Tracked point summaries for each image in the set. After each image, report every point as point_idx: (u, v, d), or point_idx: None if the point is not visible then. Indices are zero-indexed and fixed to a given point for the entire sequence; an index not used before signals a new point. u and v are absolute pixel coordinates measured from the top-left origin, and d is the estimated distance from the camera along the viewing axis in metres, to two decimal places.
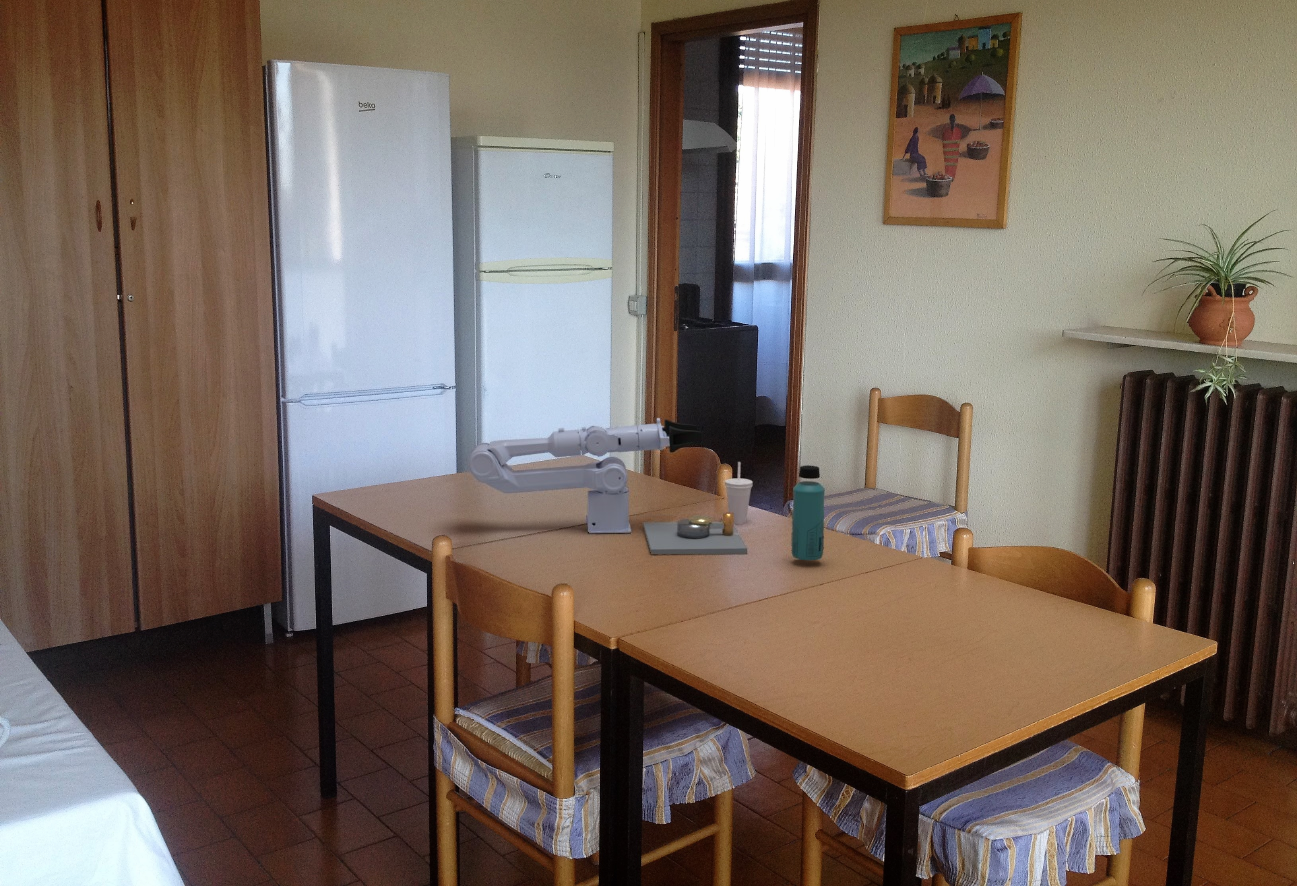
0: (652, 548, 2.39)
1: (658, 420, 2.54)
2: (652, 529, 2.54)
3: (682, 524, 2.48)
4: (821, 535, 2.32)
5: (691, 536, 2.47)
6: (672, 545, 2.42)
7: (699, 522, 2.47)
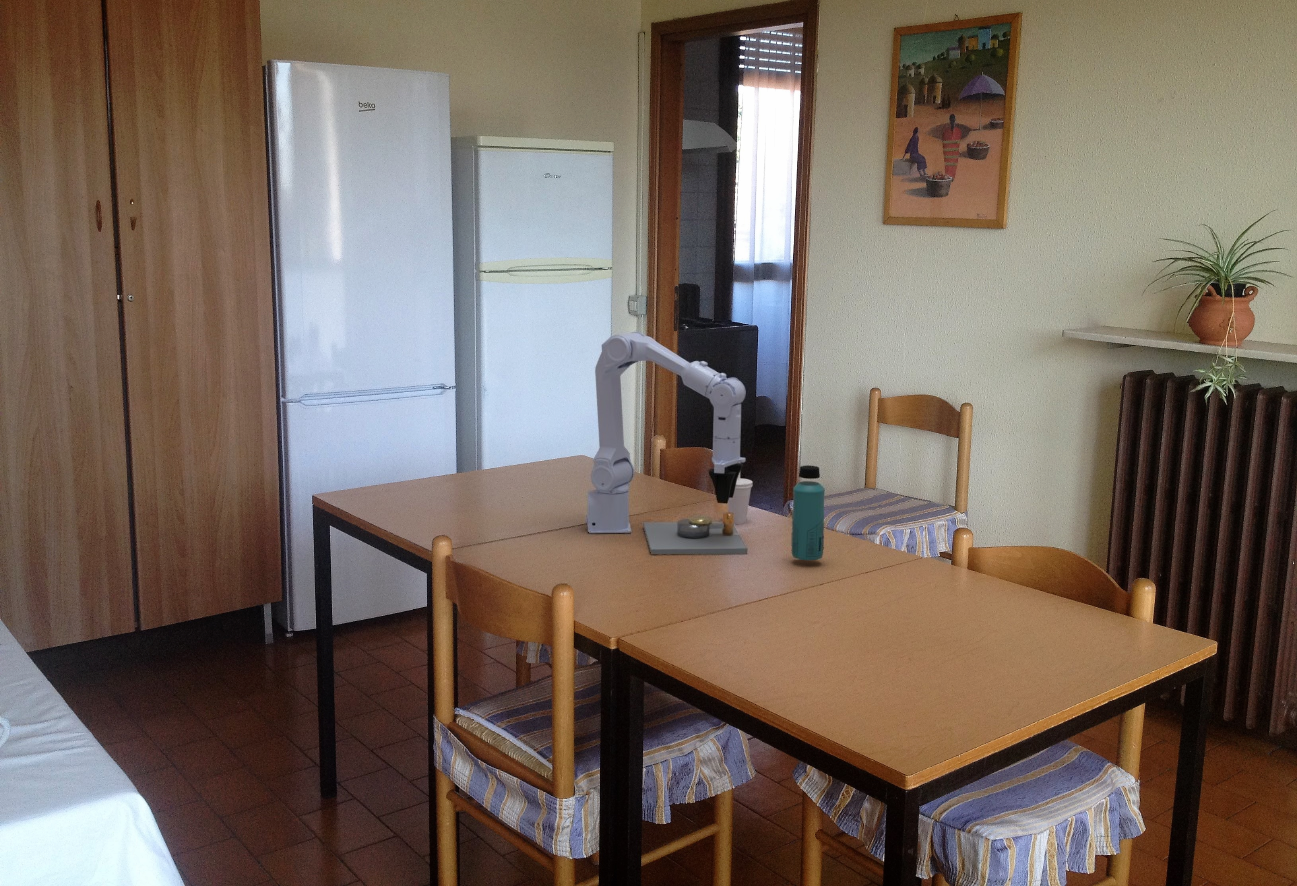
0: (652, 548, 2.39)
1: (742, 460, 2.41)
2: (652, 529, 2.54)
3: (682, 524, 2.48)
4: (821, 535, 2.32)
5: (691, 536, 2.47)
6: (672, 545, 2.42)
7: (699, 522, 2.47)
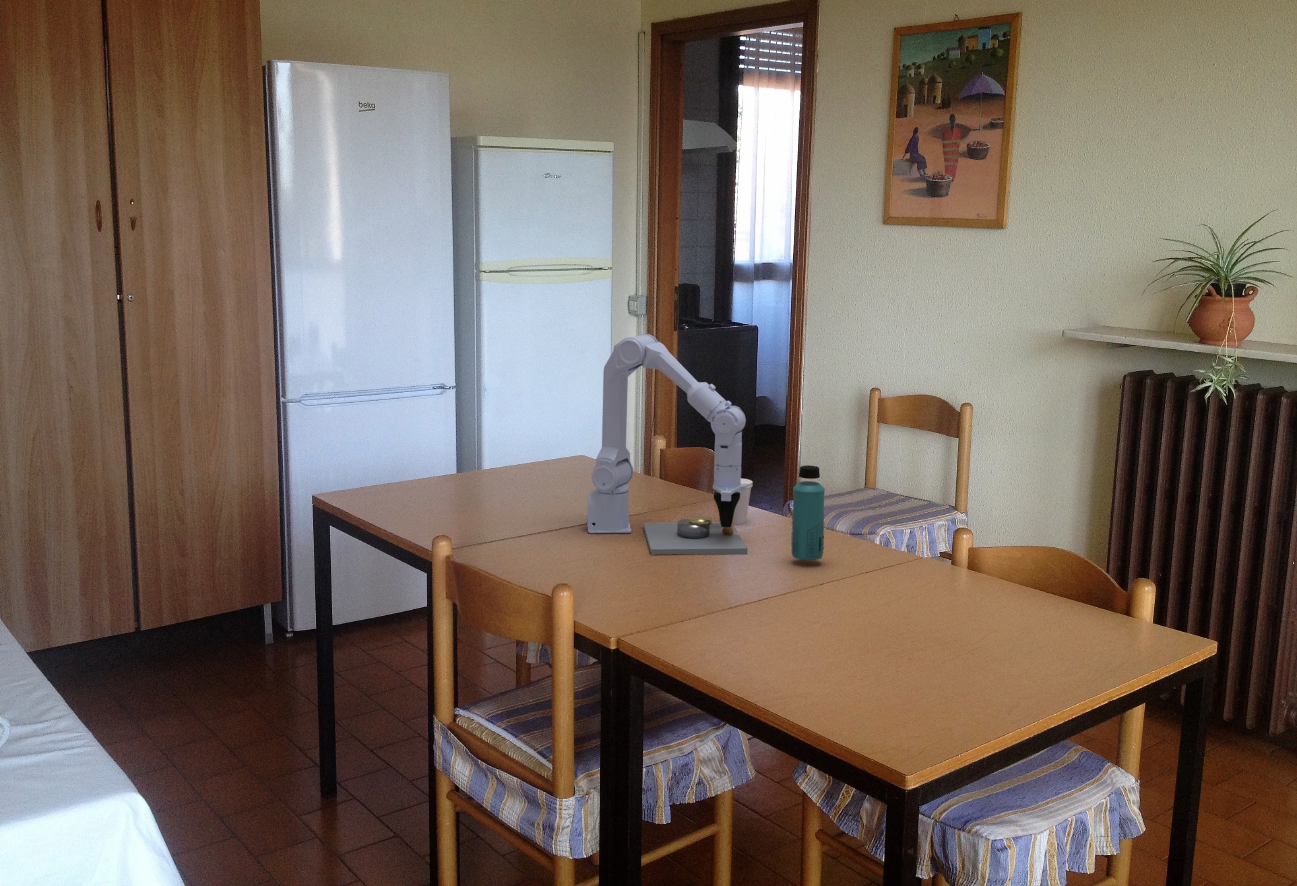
0: (652, 548, 2.39)
1: (744, 487, 2.45)
2: (652, 529, 2.54)
3: (682, 524, 2.48)
4: (821, 535, 2.32)
5: (691, 536, 2.47)
6: (672, 545, 2.42)
7: (699, 522, 2.47)
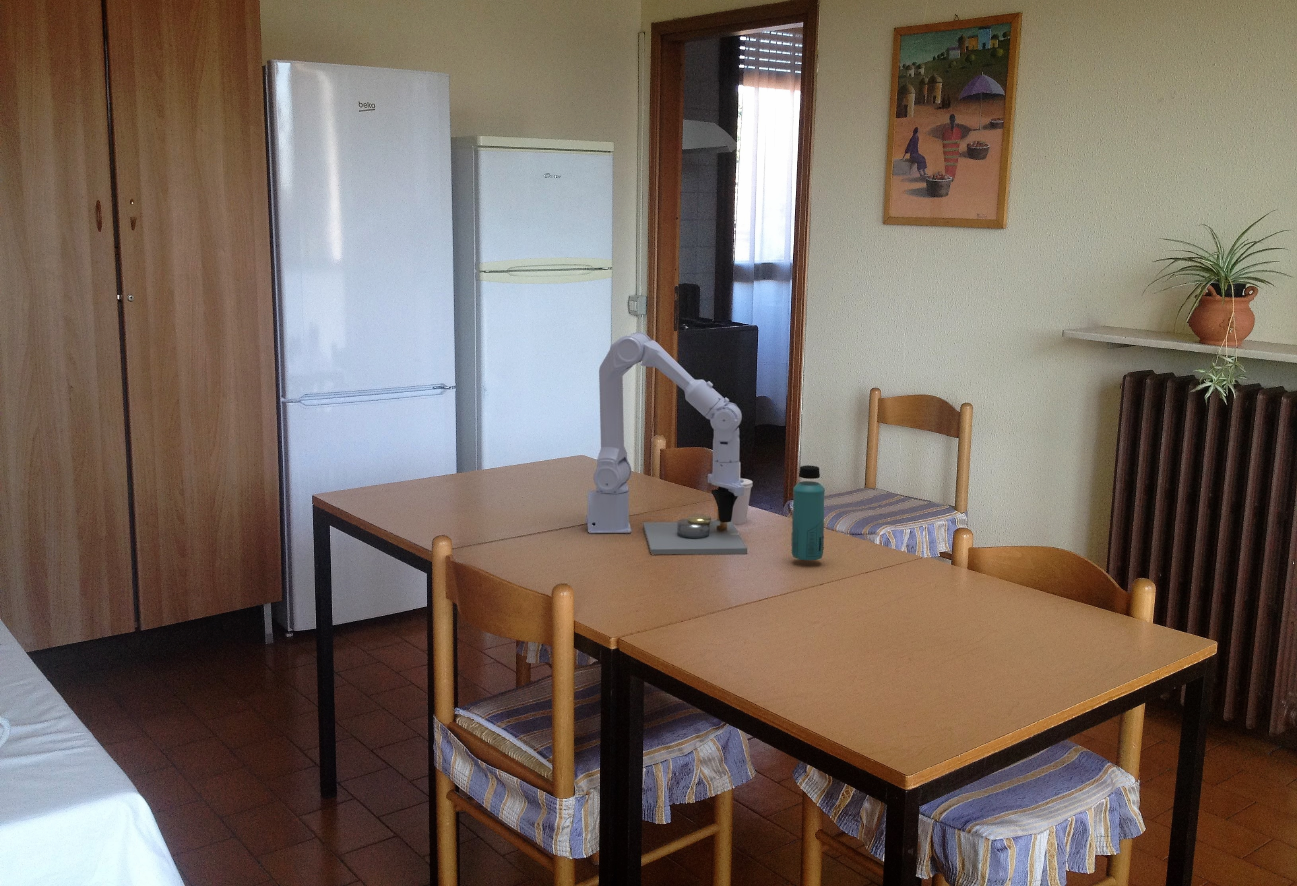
0: (652, 548, 2.39)
1: (743, 480, 2.51)
2: (652, 529, 2.54)
3: (687, 525, 2.47)
4: (821, 535, 2.32)
5: (699, 536, 2.47)
6: (672, 545, 2.42)
7: (703, 521, 2.48)
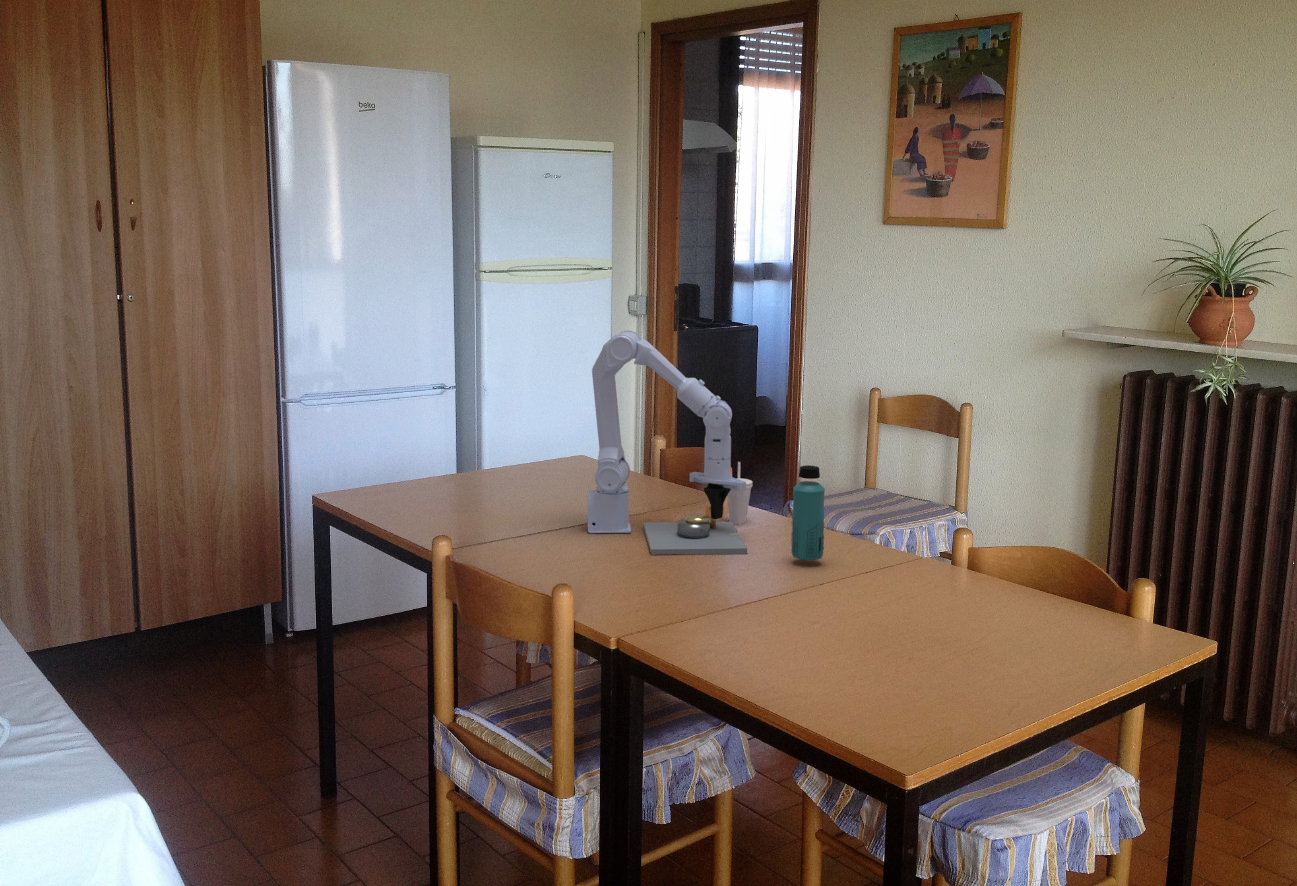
0: (652, 548, 2.39)
1: (731, 476, 2.55)
2: (652, 529, 2.54)
3: (692, 526, 2.47)
4: (821, 535, 2.32)
5: (705, 535, 2.48)
6: (672, 545, 2.42)
7: (705, 520, 2.49)
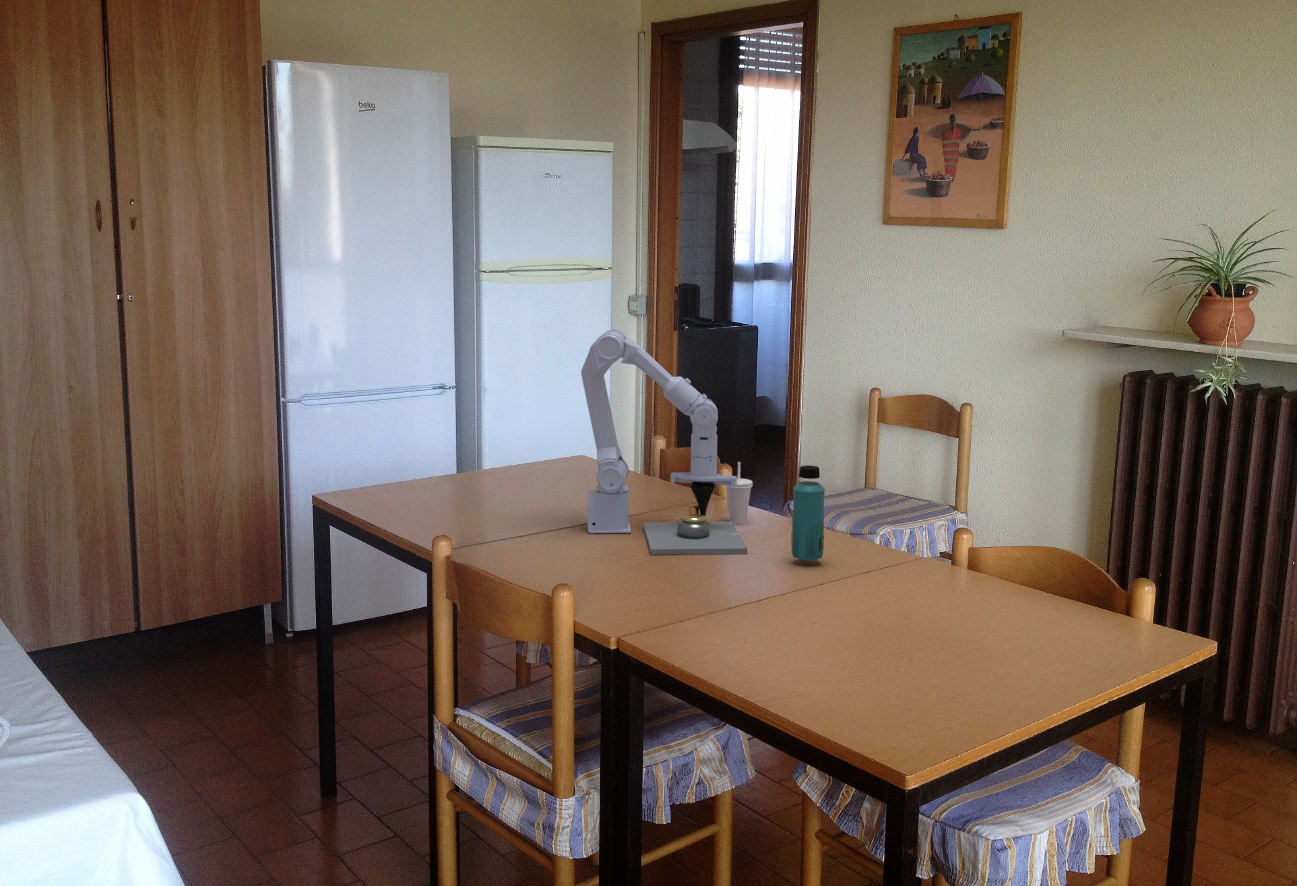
0: (652, 548, 2.39)
1: None
2: (652, 529, 2.54)
3: (699, 525, 2.47)
4: (821, 535, 2.32)
5: (709, 533, 2.49)
6: (672, 545, 2.42)
7: (704, 518, 2.51)
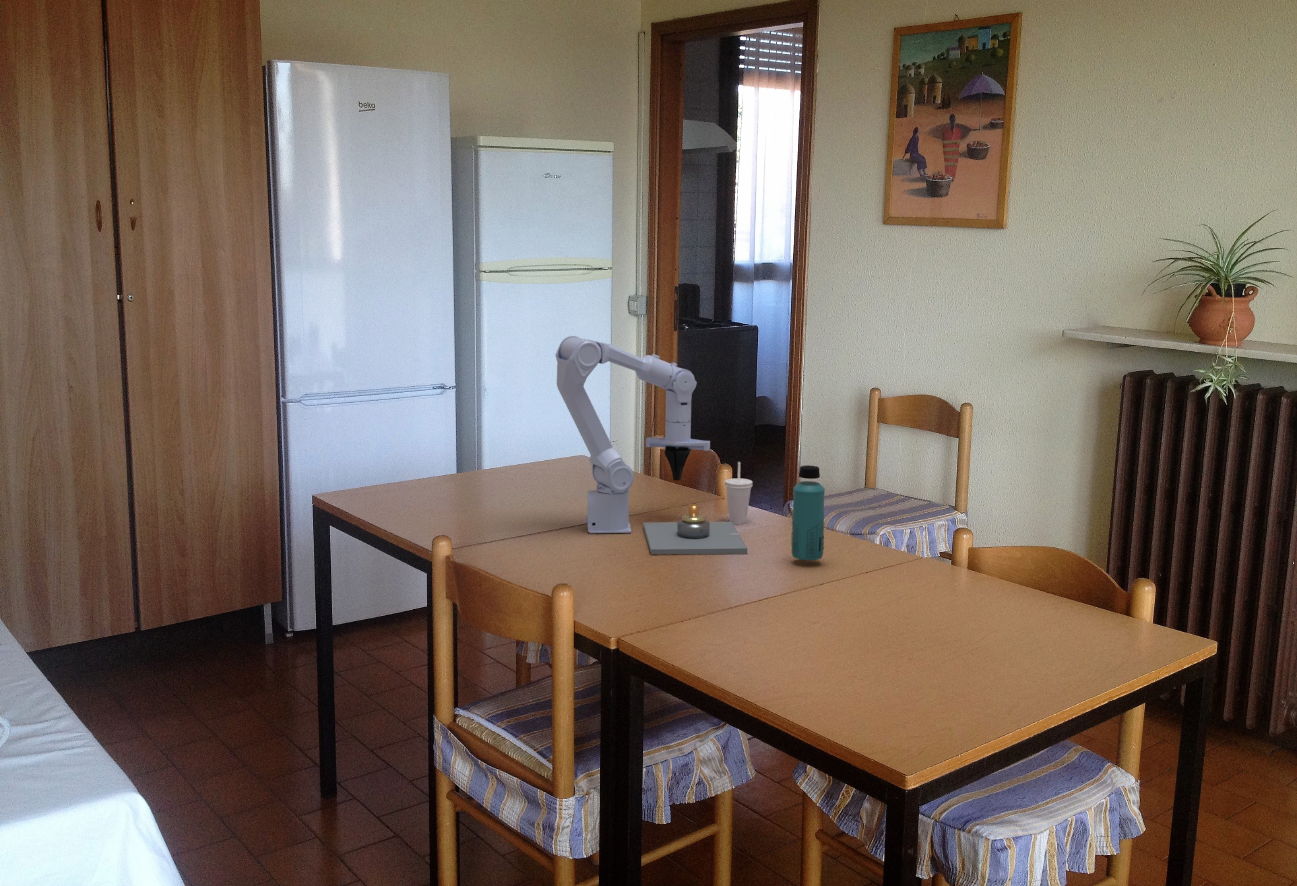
0: (652, 548, 2.39)
1: None
2: (652, 529, 2.54)
3: (699, 525, 2.47)
4: (821, 535, 2.32)
5: (709, 533, 2.49)
6: (672, 545, 2.42)
7: (704, 518, 2.51)
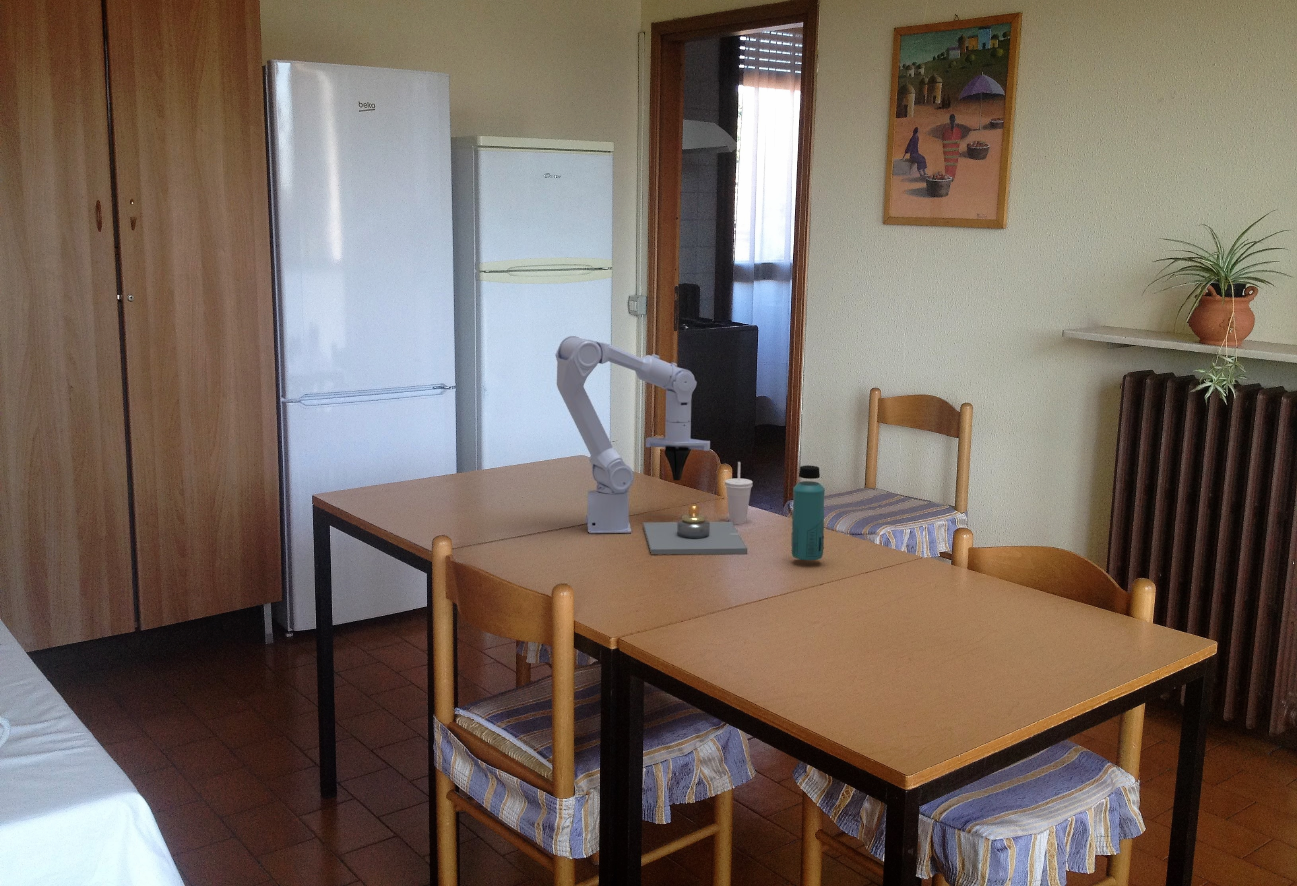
0: (652, 548, 2.39)
1: None
2: (652, 529, 2.54)
3: (699, 525, 2.47)
4: (821, 535, 2.32)
5: (709, 533, 2.49)
6: (672, 545, 2.42)
7: (704, 518, 2.51)
